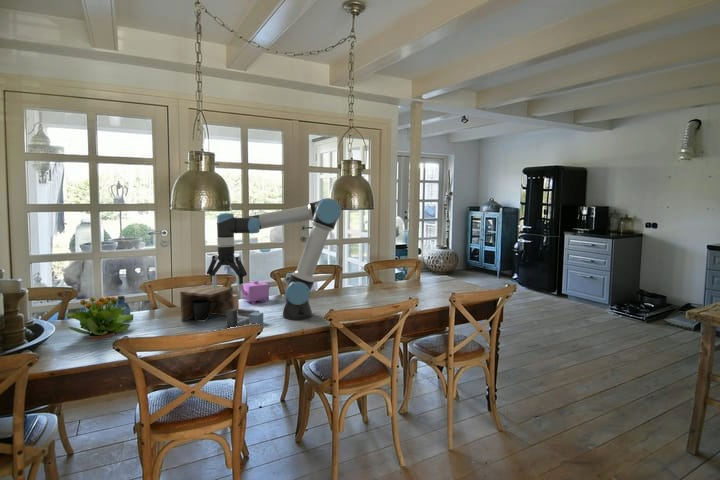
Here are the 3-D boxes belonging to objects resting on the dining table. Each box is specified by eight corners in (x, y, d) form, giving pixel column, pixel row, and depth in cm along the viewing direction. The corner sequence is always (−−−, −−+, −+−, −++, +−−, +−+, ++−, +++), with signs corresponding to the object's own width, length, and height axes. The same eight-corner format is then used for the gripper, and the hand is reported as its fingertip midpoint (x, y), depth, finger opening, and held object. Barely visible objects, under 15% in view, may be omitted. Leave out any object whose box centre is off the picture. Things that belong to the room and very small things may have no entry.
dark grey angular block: (260, 316, 219) (260, 299, 218) (233, 330, 196) (232, 311, 196) (239, 314, 223) (239, 297, 222) (210, 326, 201) (210, 308, 200)
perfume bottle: (126, 317, 215) (125, 294, 214) (130, 319, 211) (129, 296, 209) (113, 319, 211) (112, 296, 209) (117, 322, 206) (115, 298, 205)
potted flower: (125, 342, 178) (123, 302, 176) (59, 348, 170) (56, 307, 168) (135, 325, 202) (133, 290, 200) (77, 330, 194) (75, 293, 192)
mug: (218, 319, 212) (218, 301, 211) (193, 322, 207) (192, 303, 206) (217, 315, 220) (216, 298, 219) (192, 318, 215) (192, 300, 214)
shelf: (233, 315, 220) (232, 287, 219) (211, 324, 204) (210, 294, 202) (205, 311, 226) (204, 284, 225) (181, 320, 210) (180, 291, 208)
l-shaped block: (238, 311, 229) (238, 294, 228) (234, 312, 226) (234, 296, 225) (215, 308, 234) (214, 292, 233) (211, 309, 231) (210, 293, 230)
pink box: (266, 298, 259) (266, 278, 257) (272, 301, 250) (272, 280, 249) (234, 302, 248) (234, 281, 246) (239, 306, 239) (239, 284, 238)
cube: (263, 322, 209) (263, 312, 208) (257, 325, 204) (257, 315, 203) (254, 321, 210) (254, 311, 210) (248, 324, 206) (248, 314, 205)
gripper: (253, 245, 199) (254, 289, 201) (207, 244, 205) (209, 286, 207) (245, 247, 191) (246, 293, 194) (198, 245, 198) (199, 289, 200)
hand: (227, 289), depth 200 cm, fingers open, 13 cm apart
